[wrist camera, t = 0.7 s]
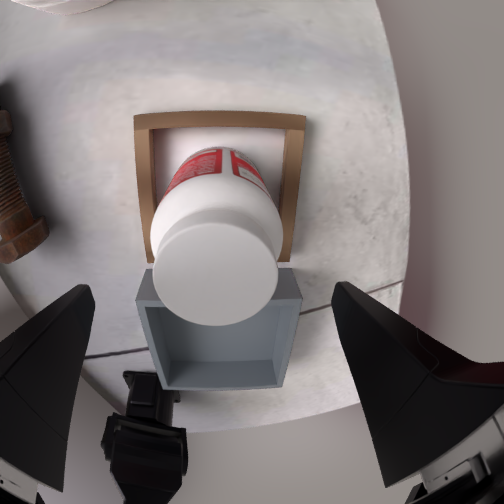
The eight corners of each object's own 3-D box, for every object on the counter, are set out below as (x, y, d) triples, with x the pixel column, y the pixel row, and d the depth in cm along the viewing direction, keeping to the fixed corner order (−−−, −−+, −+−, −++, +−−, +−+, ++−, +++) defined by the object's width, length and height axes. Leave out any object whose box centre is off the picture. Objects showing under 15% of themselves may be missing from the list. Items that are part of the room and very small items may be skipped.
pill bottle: (169, 218, 20) (132, 326, 11) (183, 137, 17) (136, 186, 8) (249, 233, 22) (271, 345, 12) (271, 156, 19) (323, 223, 9)
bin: (276, 358, 30) (281, 387, 26) (166, 359, 29) (163, 389, 25) (291, 268, 24) (302, 298, 20) (146, 269, 22) (135, 300, 19)
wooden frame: (286, 253, 23) (289, 261, 22) (150, 254, 22) (147, 262, 21) (301, 115, 17) (305, 116, 16) (138, 114, 16) (133, 115, 15)
